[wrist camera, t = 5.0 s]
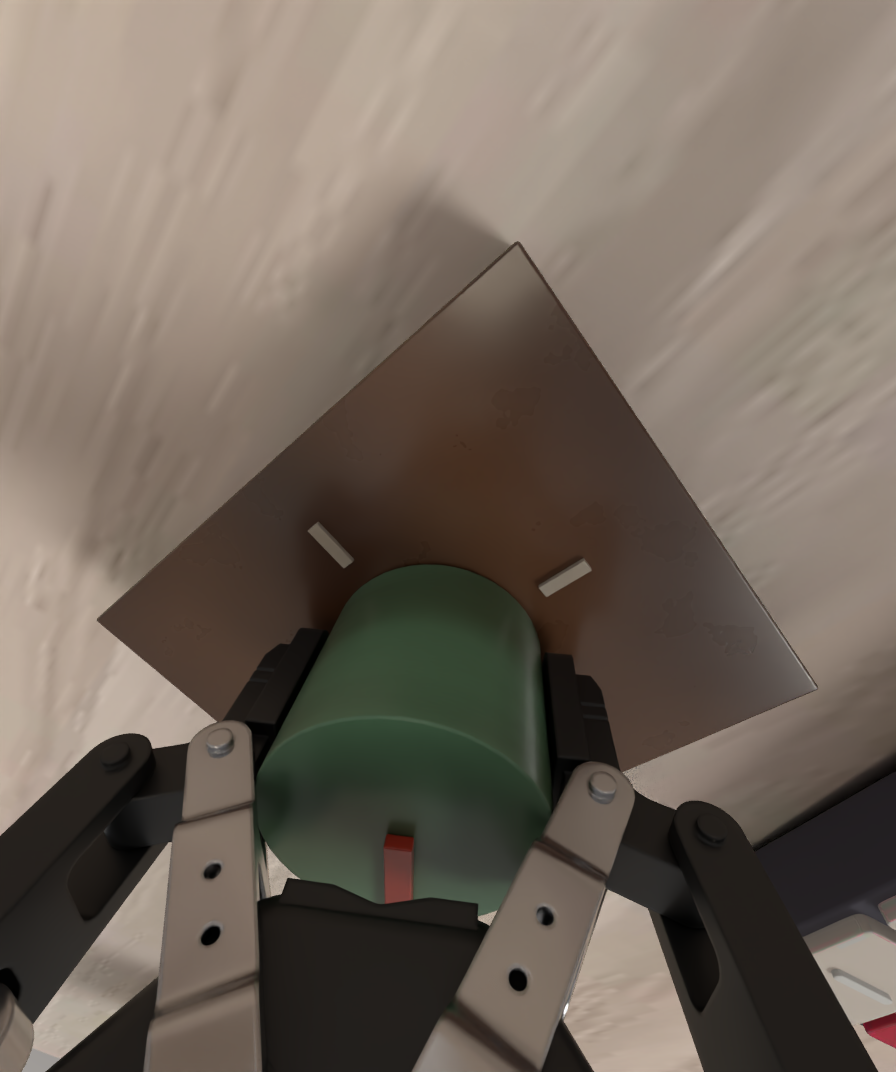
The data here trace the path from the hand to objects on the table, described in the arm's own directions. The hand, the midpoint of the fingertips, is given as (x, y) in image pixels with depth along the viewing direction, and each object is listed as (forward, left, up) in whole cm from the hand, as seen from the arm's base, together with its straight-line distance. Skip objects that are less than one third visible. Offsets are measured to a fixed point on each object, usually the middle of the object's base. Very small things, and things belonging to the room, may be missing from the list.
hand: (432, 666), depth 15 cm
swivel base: (0, 0, -3) cm, 3 cm away
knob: (0, 0, 0) cm, 0 cm away
